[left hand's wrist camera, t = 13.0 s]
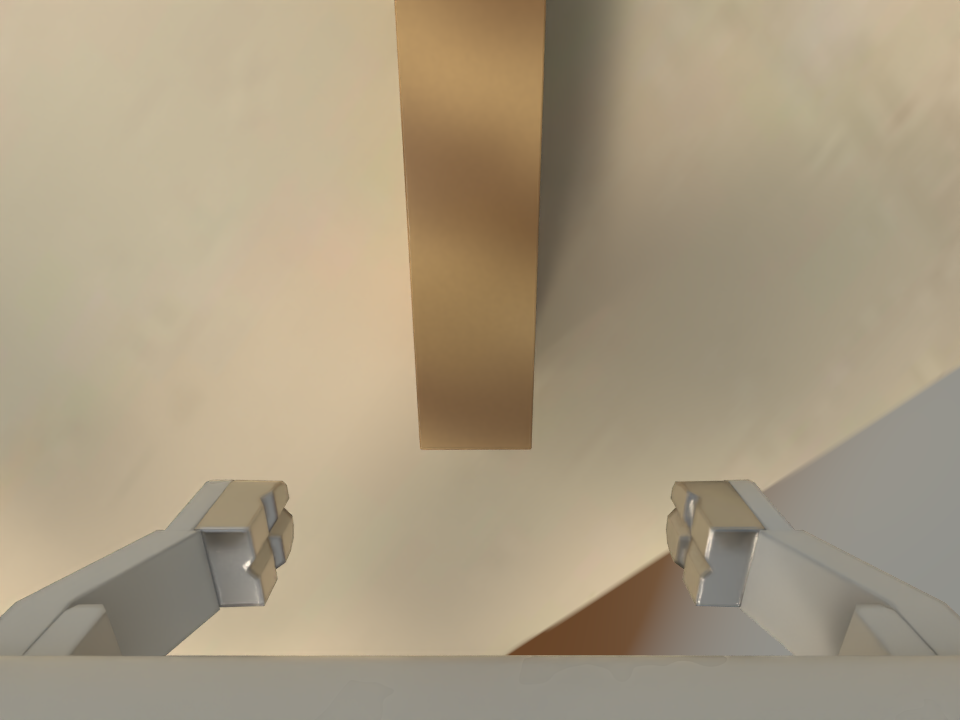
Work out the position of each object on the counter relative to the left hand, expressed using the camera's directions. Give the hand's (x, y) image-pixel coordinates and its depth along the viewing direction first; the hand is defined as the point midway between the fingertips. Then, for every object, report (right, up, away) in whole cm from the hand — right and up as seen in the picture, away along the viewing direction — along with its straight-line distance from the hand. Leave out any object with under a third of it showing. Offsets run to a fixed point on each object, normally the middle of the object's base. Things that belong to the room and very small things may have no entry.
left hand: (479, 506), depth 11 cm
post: (0, +40, +4) cm, 40 cm away
